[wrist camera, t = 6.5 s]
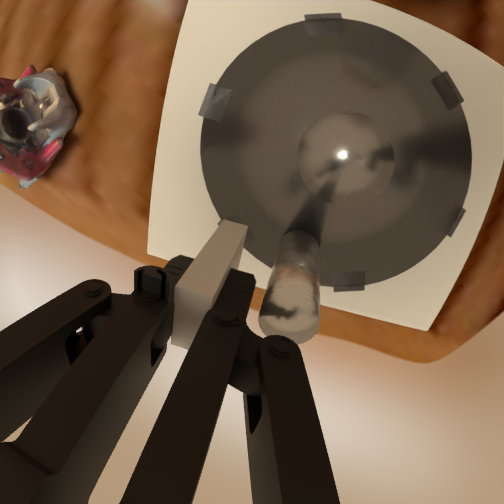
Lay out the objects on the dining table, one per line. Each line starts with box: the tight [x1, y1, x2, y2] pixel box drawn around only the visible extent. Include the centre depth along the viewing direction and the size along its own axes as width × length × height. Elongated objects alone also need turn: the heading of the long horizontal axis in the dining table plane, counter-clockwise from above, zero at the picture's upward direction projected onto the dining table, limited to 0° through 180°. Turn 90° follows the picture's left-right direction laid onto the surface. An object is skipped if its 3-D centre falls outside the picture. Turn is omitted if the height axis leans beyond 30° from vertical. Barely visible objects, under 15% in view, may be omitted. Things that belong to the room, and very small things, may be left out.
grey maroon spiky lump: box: [0, 65, 78, 189], centre depth 18 cm, size 11×11×12 cm
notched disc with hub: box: [198, 13, 472, 344], centre depth 13 cm, size 16×17×9 cm
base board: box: [147, 0, 504, 331], centre depth 18 cm, size 24×22×2 cm
